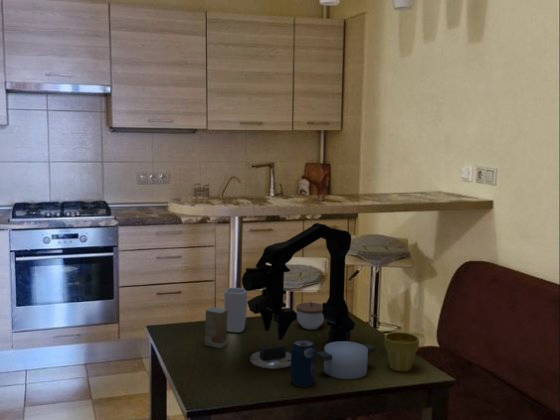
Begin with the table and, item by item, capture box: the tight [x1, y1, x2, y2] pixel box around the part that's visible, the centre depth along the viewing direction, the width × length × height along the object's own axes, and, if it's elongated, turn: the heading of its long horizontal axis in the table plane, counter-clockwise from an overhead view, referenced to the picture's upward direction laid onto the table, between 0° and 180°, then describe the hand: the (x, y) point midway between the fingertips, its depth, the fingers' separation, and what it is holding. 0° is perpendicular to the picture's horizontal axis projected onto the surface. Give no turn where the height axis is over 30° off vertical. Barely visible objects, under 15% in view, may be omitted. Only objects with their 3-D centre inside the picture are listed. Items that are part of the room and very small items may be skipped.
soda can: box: [290, 338, 316, 387], centre depth 186 cm, size 7×7×12 cm
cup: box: [224, 287, 248, 334], centre depth 231 cm, size 7×7×15 cm
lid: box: [250, 343, 291, 370], centre depth 204 cm, size 14×14×5 cm
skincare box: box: [204, 307, 228, 349], centre depth 216 cm, size 6×4×12 cm
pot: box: [315, 341, 376, 380], centre depth 196 cm, size 19×13×7 cm
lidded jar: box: [295, 301, 325, 331], centre depth 238 cm, size 11×11×9 cm
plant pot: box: [383, 331, 420, 372], centre depth 200 cm, size 10×10×10 cm
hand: (273, 335), depth 203 cm, fingers open, 9 cm apart
